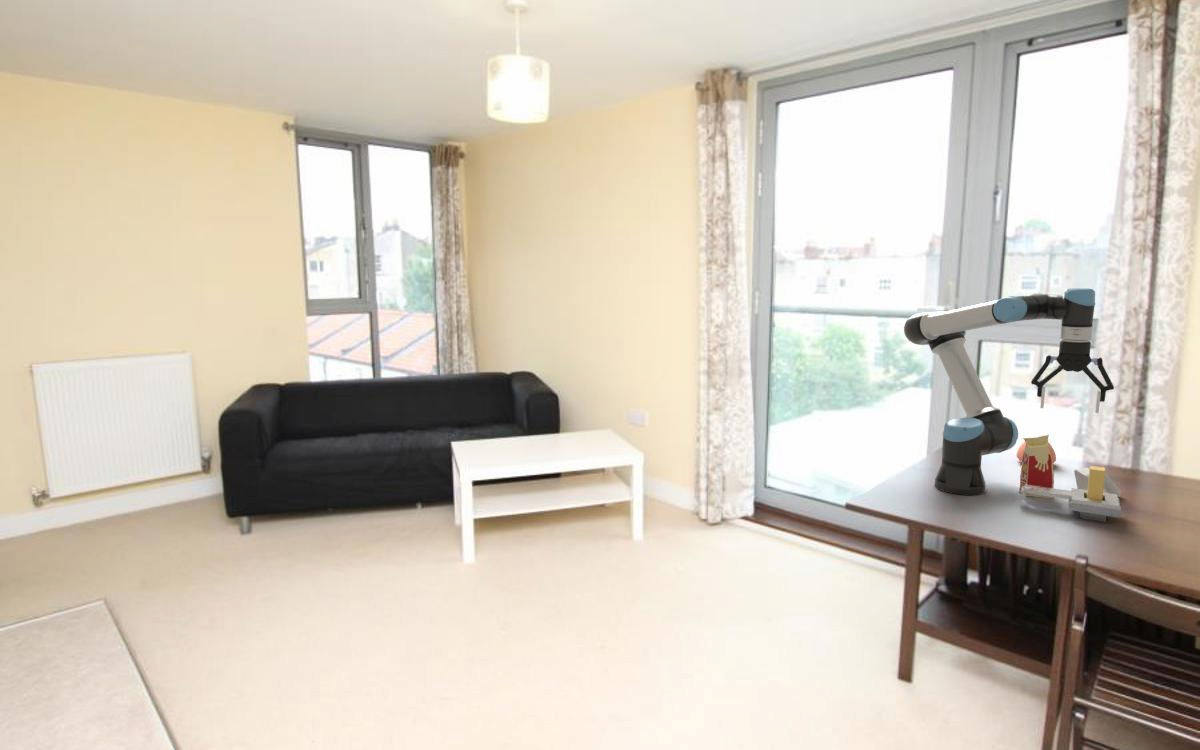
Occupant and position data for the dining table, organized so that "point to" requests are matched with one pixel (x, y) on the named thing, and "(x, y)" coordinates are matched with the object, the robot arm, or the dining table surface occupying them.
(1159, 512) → the dining table surface
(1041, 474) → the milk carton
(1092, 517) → the grey slotted fixture
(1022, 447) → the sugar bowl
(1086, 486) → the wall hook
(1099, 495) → the yellow rectangular block
